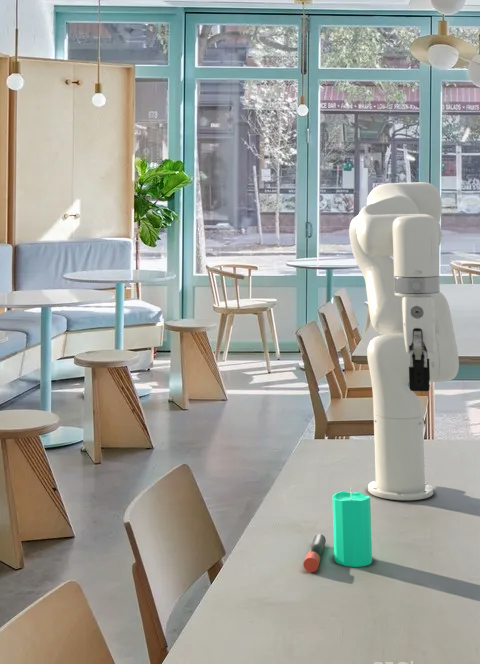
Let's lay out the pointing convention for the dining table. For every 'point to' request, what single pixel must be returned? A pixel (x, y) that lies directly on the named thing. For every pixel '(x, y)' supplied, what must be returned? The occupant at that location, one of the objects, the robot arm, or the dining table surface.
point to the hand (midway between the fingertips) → (420, 385)
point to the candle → (352, 529)
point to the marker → (314, 553)
